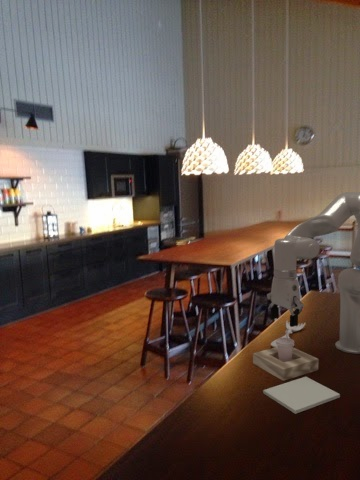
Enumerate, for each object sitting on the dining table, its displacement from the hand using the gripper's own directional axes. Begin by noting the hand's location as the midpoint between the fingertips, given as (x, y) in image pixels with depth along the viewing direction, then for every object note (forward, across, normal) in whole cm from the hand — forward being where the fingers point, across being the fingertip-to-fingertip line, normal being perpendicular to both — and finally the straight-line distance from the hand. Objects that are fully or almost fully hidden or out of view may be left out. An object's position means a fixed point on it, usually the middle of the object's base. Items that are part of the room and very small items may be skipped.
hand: (283, 322), depth 146 cm
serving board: (+17, -18, +9) cm, 26 cm away
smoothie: (+17, 0, -1) cm, 17 cm away
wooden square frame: (+17, 0, -1) cm, 17 cm away
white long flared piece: (+17, +20, -21) cm, 34 cm away
